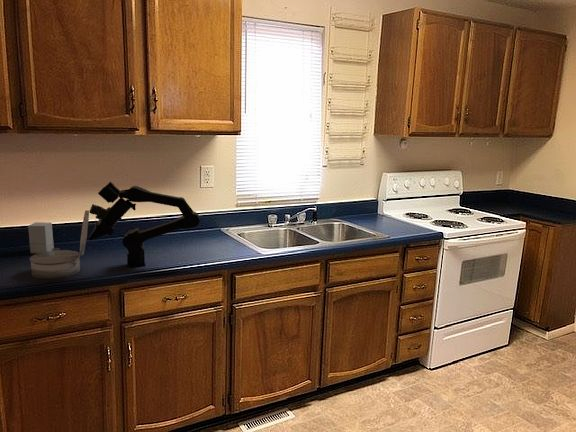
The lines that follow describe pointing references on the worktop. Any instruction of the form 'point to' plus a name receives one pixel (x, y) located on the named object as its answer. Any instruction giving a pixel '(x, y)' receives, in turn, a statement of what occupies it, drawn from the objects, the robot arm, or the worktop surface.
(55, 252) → the cooker pot
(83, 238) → the lid
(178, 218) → the robot arm
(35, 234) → the supplement box
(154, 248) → the worktop surface
